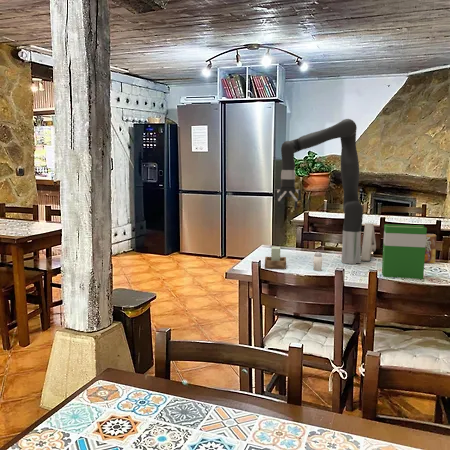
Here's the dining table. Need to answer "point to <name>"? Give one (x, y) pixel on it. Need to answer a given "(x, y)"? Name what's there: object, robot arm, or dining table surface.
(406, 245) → the hardback book
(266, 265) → the walnut caddy
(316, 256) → the salt shaker
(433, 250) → the candy box
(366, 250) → the wall bracket
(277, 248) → the sage block
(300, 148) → the robot arm
